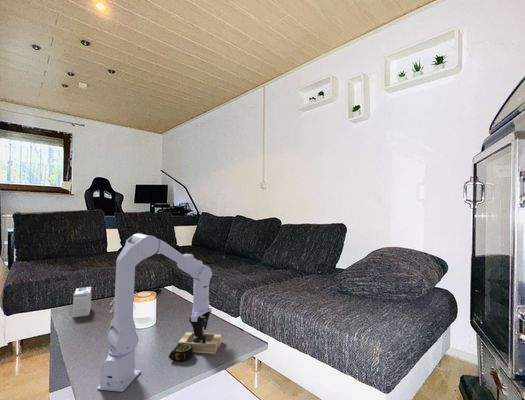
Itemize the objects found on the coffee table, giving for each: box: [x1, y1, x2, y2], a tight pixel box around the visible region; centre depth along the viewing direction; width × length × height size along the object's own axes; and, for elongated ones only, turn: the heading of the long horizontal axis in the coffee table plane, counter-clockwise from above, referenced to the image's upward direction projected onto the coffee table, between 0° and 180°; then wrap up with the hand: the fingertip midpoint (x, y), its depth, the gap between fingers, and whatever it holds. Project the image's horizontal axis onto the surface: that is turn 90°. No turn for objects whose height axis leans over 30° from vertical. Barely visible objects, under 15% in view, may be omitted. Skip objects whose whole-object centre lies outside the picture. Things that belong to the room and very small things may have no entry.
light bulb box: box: [72, 286, 92, 318], centre depth 134 cm, size 11×7×11 cm, turn 28°
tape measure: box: [168, 343, 194, 362], centre depth 96 cm, size 7×7×4 cm
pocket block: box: [177, 331, 223, 355], centre depth 104 cm, size 9×14×3 cm, turn 83°
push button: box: [192, 316, 209, 343], centre depth 104 cm, size 7×5×10 cm
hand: (200, 332), depth 104 cm, fingers closed on push button, 5 cm apart
